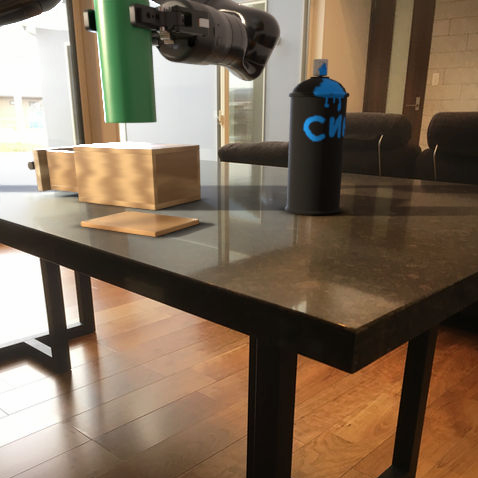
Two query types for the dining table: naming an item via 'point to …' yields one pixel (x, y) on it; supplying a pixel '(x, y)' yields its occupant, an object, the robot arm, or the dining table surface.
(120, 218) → the cork mat
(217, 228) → the dining table surface
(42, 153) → the drawer
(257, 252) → the dining table surface
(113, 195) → the cabinet
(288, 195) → the aerosol can
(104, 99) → the green can
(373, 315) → the dining table surface
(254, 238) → the dining table surface
